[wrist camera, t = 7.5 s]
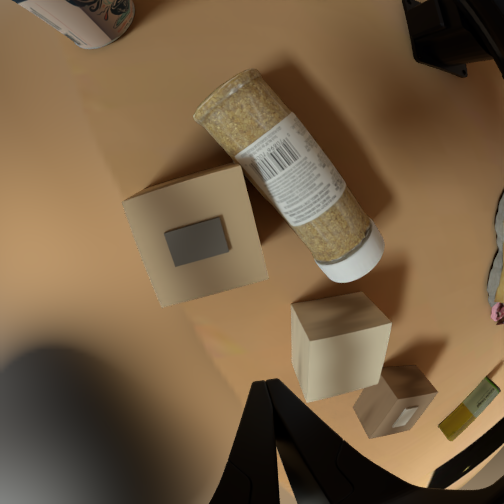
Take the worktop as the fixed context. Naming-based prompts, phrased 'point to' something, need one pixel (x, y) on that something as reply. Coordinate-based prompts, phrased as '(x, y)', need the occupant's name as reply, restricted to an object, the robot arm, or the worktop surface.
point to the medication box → (469, 409)
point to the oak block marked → (197, 234)
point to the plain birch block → (338, 344)
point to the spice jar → (85, 18)
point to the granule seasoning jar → (292, 174)
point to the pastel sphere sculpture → (498, 271)
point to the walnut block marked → (394, 401)
